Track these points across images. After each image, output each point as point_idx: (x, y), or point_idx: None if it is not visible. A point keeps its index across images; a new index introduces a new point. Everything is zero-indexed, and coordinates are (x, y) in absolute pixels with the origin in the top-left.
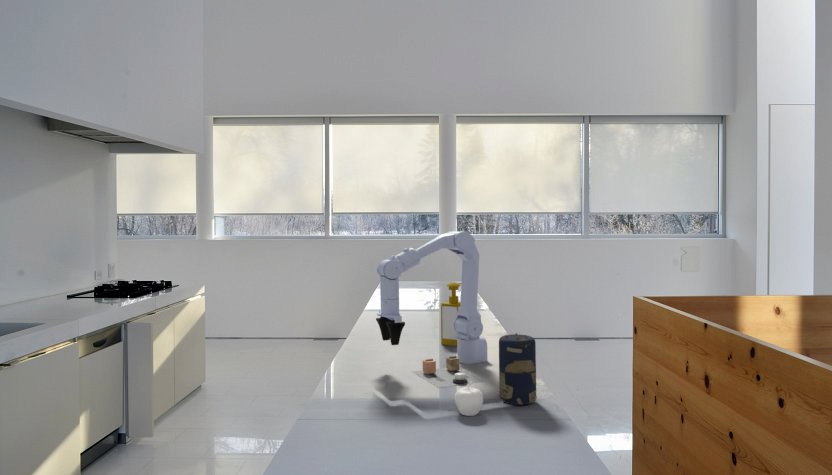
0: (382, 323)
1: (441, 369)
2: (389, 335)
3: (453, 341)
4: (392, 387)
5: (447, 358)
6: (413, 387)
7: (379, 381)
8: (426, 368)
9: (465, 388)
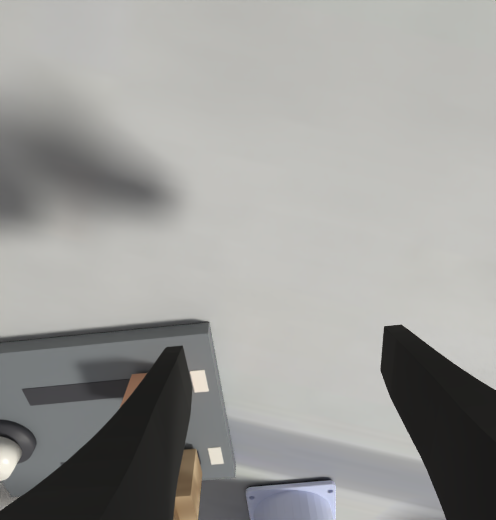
0: (488, 474)
1: (207, 432)
2: (395, 400)
3: None
4: (22, 193)
5: (178, 494)
6: (14, 281)
7: (149, 156)
8: (127, 392)
9: None
